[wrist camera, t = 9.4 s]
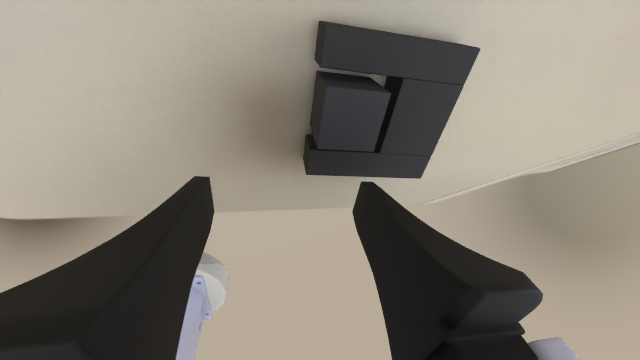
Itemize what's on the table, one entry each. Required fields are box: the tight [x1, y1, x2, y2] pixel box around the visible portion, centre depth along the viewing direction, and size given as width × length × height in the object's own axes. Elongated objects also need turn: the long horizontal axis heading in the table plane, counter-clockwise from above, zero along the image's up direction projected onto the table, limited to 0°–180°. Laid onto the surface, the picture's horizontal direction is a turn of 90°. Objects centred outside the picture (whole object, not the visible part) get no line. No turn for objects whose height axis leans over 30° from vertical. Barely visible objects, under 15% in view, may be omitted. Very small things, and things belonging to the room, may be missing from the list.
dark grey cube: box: [310, 71, 391, 152], centre depth 17 cm, size 4×4×4 cm
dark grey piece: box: [303, 21, 480, 178], centre depth 18 cm, size 10×10×2 cm
